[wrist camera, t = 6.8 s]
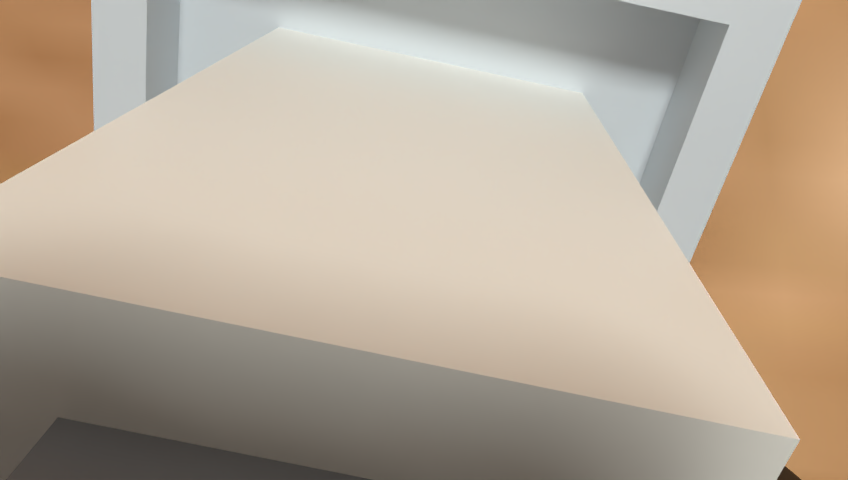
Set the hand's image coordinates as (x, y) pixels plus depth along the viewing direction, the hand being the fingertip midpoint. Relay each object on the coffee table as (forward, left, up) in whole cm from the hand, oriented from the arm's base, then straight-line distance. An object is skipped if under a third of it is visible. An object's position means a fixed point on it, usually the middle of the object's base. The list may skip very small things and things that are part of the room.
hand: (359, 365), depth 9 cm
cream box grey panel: (0, 0, -4) cm, 4 cm away
